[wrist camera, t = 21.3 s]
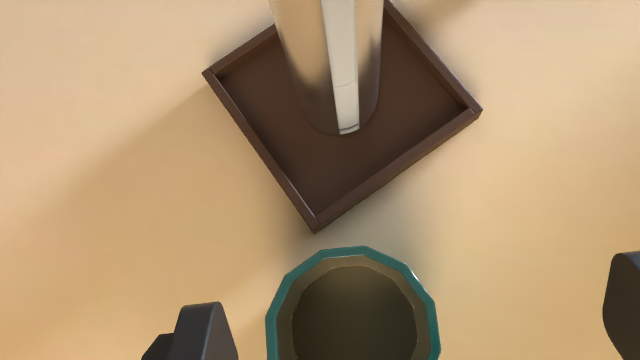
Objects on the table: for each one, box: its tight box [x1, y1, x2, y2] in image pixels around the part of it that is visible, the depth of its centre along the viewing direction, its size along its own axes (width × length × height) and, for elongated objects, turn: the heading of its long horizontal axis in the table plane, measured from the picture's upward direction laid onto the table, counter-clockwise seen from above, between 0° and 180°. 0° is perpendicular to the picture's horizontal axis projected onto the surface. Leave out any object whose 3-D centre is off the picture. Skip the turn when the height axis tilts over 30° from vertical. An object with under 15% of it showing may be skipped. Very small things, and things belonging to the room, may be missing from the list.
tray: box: [202, 0, 483, 234], centre depth 43 cm, size 17×17×2 cm
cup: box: [265, 246, 441, 360], centre depth 35 cm, size 11×11×8 cm
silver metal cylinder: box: [268, 0, 384, 135], centre depth 31 cm, size 6×6×25 cm
